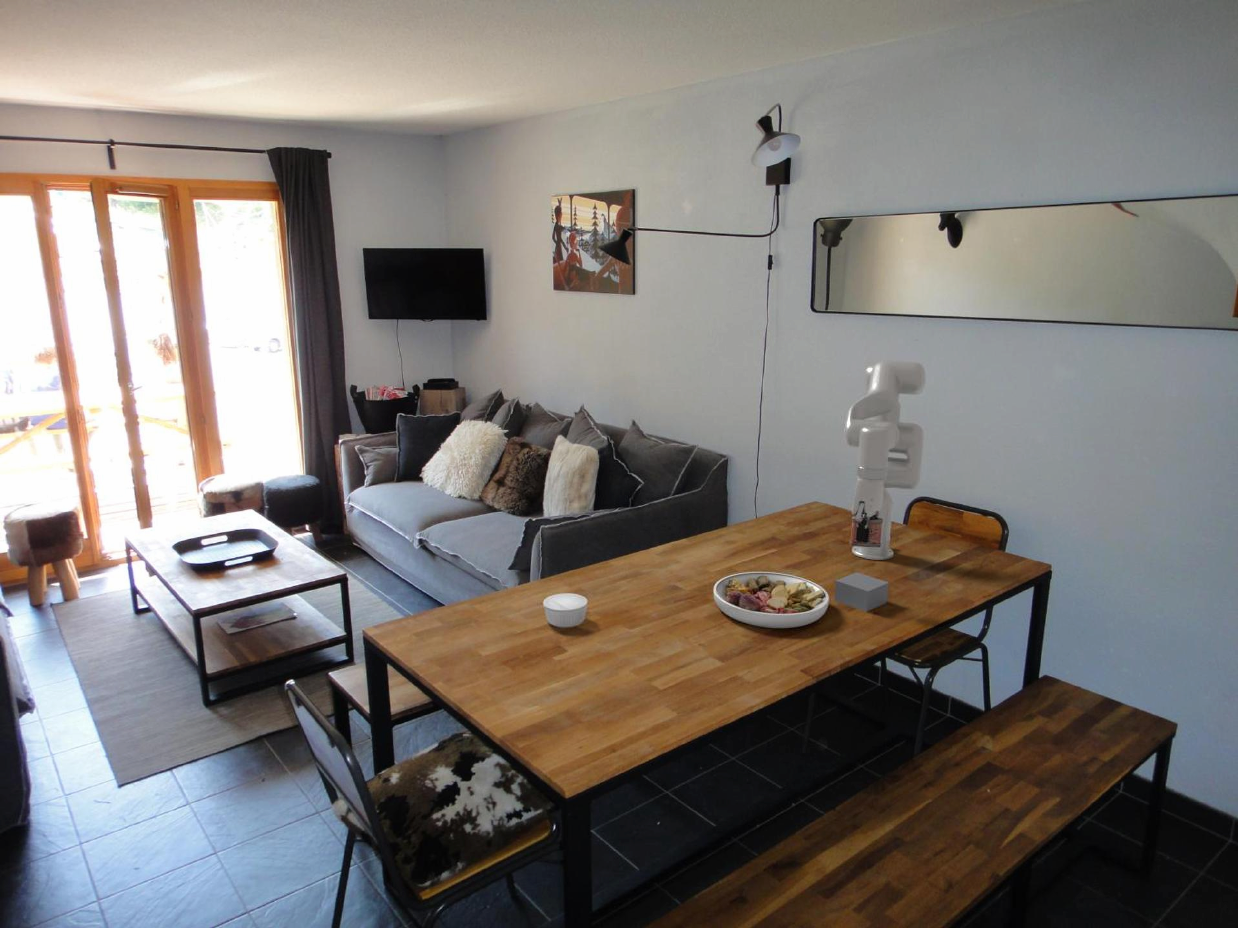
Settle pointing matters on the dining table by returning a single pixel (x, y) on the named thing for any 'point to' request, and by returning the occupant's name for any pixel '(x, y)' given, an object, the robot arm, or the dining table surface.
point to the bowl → (771, 599)
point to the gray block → (861, 591)
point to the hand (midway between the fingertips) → (865, 538)
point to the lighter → (874, 532)
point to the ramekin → (565, 609)
